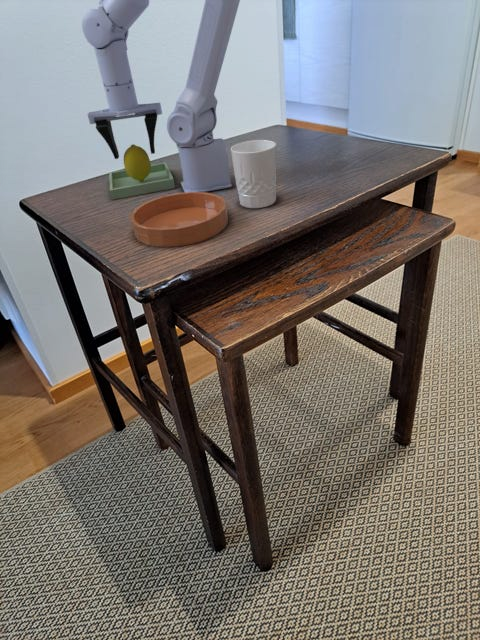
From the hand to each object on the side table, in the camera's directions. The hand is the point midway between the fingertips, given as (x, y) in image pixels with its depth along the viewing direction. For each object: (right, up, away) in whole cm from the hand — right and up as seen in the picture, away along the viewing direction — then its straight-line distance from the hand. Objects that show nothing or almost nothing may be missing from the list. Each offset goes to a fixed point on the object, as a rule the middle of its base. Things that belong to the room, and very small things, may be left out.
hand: (135, 155), depth 95 cm
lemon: (+1, -5, +3) cm, 6 cm away
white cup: (+26, -13, -12) cm, 31 cm away
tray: (+1, -5, +4) cm, 6 cm away
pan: (+12, -19, -17) cm, 28 cm away
